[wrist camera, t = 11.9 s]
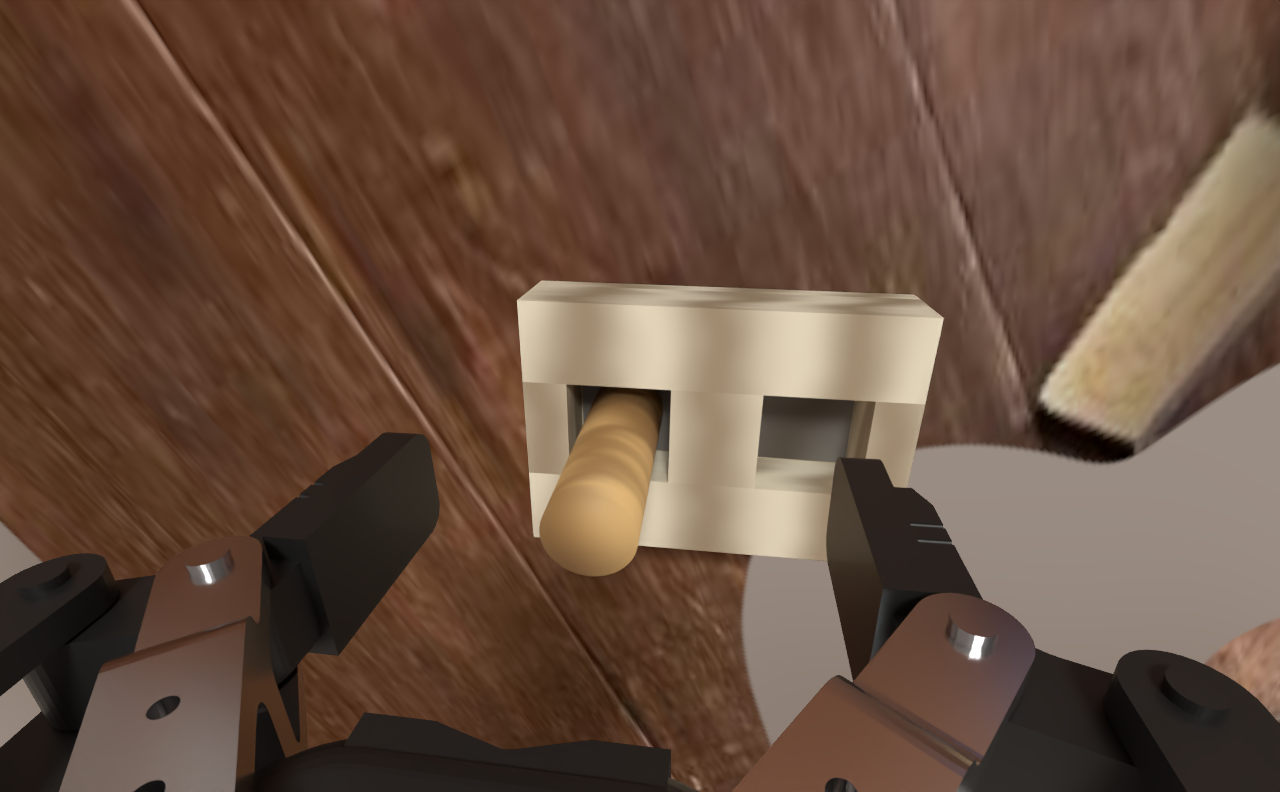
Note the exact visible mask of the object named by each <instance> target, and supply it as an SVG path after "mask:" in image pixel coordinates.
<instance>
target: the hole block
mask: <svg viewBox="0 0 1280 792" xmlns="http://www.w3.org/2000/svg"><path fill="white" fill-rule="evenodd" d="M517 307H518V321H519V335H520V350H521V364H522V378H523V392H524V406H525V421H526V435H527V449H528V463H529V478H530V492H531V506H532V520H533V534H534V537H540V534H539V526H540V521H541V518H542V516H543V513H544V511H545V509H546V507H547V504H548V502H549V500H550V498H551V496H552V493H553V491H554V489H555V487H556V484H557V482H558V480H559V478H560V475H561V473H562V471H563V469H564V466H565V464H566V462H567V460H568V458H569V455H570V453H571V451H572V449H573V446H574V444H575V442H576V440H577V437H578V435H579V433H580V431H581V428H582V426H583V424H584V422H585V420H586V417H587V415H588V413H589V411H590V408H591V406H592V404H593V402H594V399H595V397H596V395H597V393H598V391H599V389H600V388H601V387H602V386H605V387H623V388H641V389H656V390H657V391H658V393H659V395H660V397H661V399H662V402H663V416H662V421H661V426H660V432H659V437H658V442H657V448H656V453H655V458H654V463H653V469H652V474H651V479H650V485H649V490H648V495H647V500H646V506H645V511H644V516H643V522H642V527H641V532H640V537H639V543H638V546H650V547H662V548H674V549H686V550H698V551H710V552H722V553H734V554H746V555H759V556H770V557H782V558H794V559H807V560H819V561H827V552H826V533H827V523H828V515H829V507H830V499H831V492H832V484H833V476H834V468H835V463H836V460H837V458H838V457H846V458H865V459H880V460H881V461H882V462H883V464H884V466H885V469H886V471H887V473H888V475H889V478H890V480H891V482H892V484H893V486H894V487H901V488H907V486H908V481H909V477H910V472H911V468H912V463H913V458H914V454H915V449H916V444H917V440H918V435H919V430H920V426H921V421H922V417H923V412H924V407H925V403H926V398H927V393H928V389H929V384H930V380H931V375H932V370H933V366H934V361H935V356H936V352H937V347H938V343H939V338H940V333H941V329H942V324H943V319H944V318H943V317H942V316H940V315H939V314H938V313H937V312H935V311H934V310H933V309H932V308H930V307H929V306H928V305H927V304H925V303H924V302H923V301H922V300H920V299H919V298H918V297H917V296H915V295H907V294H881V293H855V292H828V291H802V290H775V289H749V288H723V287H696V286H670V285H643V284H617V283H591V282H564V281H541V282H539V283H538V284H537V285H536V286H534V287H533V288H532V289H531V290H529V291H528V292H527V293H526V294H524V295H523V296H522V297H521V298H519V299H518V300H517Z"/></svg>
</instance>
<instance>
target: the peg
mask: <svg viewBox="0 0 1280 792" xmlns="http://www.w3.org/2000/svg"><path fill="white" fill-rule="evenodd" d="M662 416H663V402H662V399H661V397H660V395H659V393H658V391H657V390H656V389H641V388H623V387H605V386H602V387H601V388H600V389H599V391H598V393H597V395H596V397H595V399H594V402H593V404H592V406H591V408H590V411H589V413H588V415H587V417H586V420H585V422H584V424H583V426H582V428H581V431H580V433H579V435H578V437H577V440H576V442H575V444H574V446H573V449H572V451H571V453H570V455H569V458H568V460H567V462H566V464H565V466H564V469H563V471H562V473H561V475H560V478H559V480H558V482H557V484H556V487H555V489H554V491H553V493H552V496H551V498H550V500H549V502H548V504H547V507H546V509H545V511H544V513H543V516H542V518H541V521H540V526H539V534H540V539H541V543H542V545H543V547H544V549H545V550H546V552H547V553H548V555H549V556H550V557H551V558H552V559H553V560H554V561H555V562H556V563H557V564H559V565H560V566H562V567H563V568H565V569H567V570H569V571H571V572H574V573H576V574H580V575H585V576H605V575H609V574H613V573H615V572H617V571H619V570H621V569H623V568H624V567H625V566H627V565H628V564H629V563H630V561H631V560H632V559H633V557H634V556H635V553H636V551H637V548H638V543H639V537H640V532H641V527H642V522H643V516H644V511H645V506H646V500H647V495H648V490H649V485H650V479H651V474H652V469H653V463H654V458H655V453H656V448H657V442H658V437H659V432H660V426H661V421H662Z"/></svg>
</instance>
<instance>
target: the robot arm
mask: <svg viewBox="0 0 1280 792" xmlns="http://www.w3.org/2000/svg"><path fill="white" fill-rule="evenodd" d="M438 516H439V496H438V491H437V485H436V479H435V474H434V468H433V462H432V457H431V451H430V446H429V442H428V440H427V438H426V437H425V436H424V435H422V434H408V433H389V432H387V433H383V434H382V435H380V436H379V437H378V438H377V439H375V440H374V441H373V442H372V443H371V444H370V445H368V446H367V447H366V448H365V449H364V450H363V451H361V452H360V453H359V454H358V455H356V456H354V457H352V458H350V459H348V460H346V461H344V462H342V463H340V464H338V465H336V466H334V467H332V468H331V469H330V470H328V471H327V472H326V473H325V474H324V475H322V476H321V477H320V478H319V479H318V480H316V481H315V484H314V485H310V486H309V487H308V488H307V489H306V490H304V491H303V492H302V493H301V494H300V497H299V498H295V499H294V500H292V501H291V502H290V503H289V504H288V505H286V506H285V507H284V508H283V509H281V510H280V511H279V512H278V513H277V514H275V515H274V516H273V517H272V518H271V519H269V520H268V521H267V522H266V523H265V524H263V525H262V526H261V527H260V528H259V529H257V530H256V531H255V532H254V533H253V534H251V535H250V536H227V537H221V538H217V539H213V540H209V541H206V542H203V543H200V544H198V545H195V546H193V547H191V548H189V549H187V550H185V551H183V552H181V553H179V554H178V555H176V556H175V557H173V558H172V559H170V560H169V561H168V562H167V563H165V564H164V565H163V566H162V567H161V568H160V570H159V571H158V572H157V574H156V575H153V576H146V577H138V578H131V579H123V580H116V581H115V579H114V577H113V575H112V573H111V570H110V568H109V566H108V564H107V562H106V560H105V558H103V557H102V556H100V555H97V554H74V555H68V556H63V557H59V558H55V559H52V560H49V561H46V562H43V563H40V564H37V565H35V566H32V567H30V568H28V569H25V570H23V571H21V572H19V573H17V574H15V575H13V576H12V577H10V578H8V579H7V580H5V581H3V582H2V583H0V696H1V695H2V694H4V693H5V692H6V691H7V690H8V689H10V688H11V687H12V686H13V685H15V684H16V683H17V682H18V681H20V680H21V679H22V678H23V680H24V681H25V683H26V685H27V687H28V688H29V690H30V691H31V693H32V695H33V697H34V699H35V701H36V702H37V704H38V705H39V707H40V709H41V712H40V713H39V714H38V715H37V716H36V717H35V718H34V719H32V720H31V721H30V722H29V723H28V724H27V725H26V726H25V727H23V728H22V729H21V730H20V731H19V732H18V733H17V734H15V735H14V736H13V737H12V738H11V739H10V740H9V741H7V742H6V743H5V744H4V745H3V746H2V747H1V748H0V792H698V791H696V790H694V789H693V788H691V787H689V786H687V785H686V784H683V783H681V782H679V781H676V780H674V779H672V778H671V750H669V749H661V748H652V747H644V746H636V745H628V744H620V743H611V742H603V741H595V740H588V741H580V742H571V743H563V744H555V745H547V746H538V747H530V748H522V749H513V750H507V749H501V748H498V747H495V746H493V745H491V744H488V743H486V742H484V741H481V740H479V739H477V738H474V737H472V736H470V735H467V734H465V733H463V732H460V731H458V730H456V729H453V728H451V727H448V726H446V725H444V724H441V723H439V722H437V721H431V720H423V719H415V718H406V717H398V716H390V715H382V714H373V713H364V714H363V716H362V717H361V719H360V721H359V722H358V724H357V725H356V727H355V728H354V730H353V732H352V733H351V735H350V736H349V738H348V739H347V740H340V741H336V742H331V743H327V744H323V745H319V746H316V747H313V748H310V749H308V741H307V721H306V702H305V683H304V674H303V670H302V667H301V664H300V661H301V660H302V659H303V658H304V657H305V655H306V654H307V653H308V652H310V653H319V654H329V655H338V656H339V654H340V653H341V652H342V650H343V649H344V648H345V646H346V645H347V644H348V642H349V641H350V640H351V638H352V637H353V636H354V635H355V633H356V632H357V631H358V629H359V628H360V627H361V625H362V624H363V623H364V621H365V620H366V619H367V617H368V616H369V615H370V613H371V612H372V611H373V609H374V608H375V607H376V606H377V604H378V603H379V602H380V600H381V599H382V598H383V596H384V595H385V594H386V592H387V591H388V590H389V588H390V587H391V586H392V584H393V583H394V582H395V580H396V579H397V578H398V577H399V575H400V574H401V573H402V571H403V570H404V569H405V567H406V566H407V565H408V563H409V562H410V561H411V559H412V558H413V557H414V555H415V554H416V553H417V551H418V550H419V549H420V548H421V546H422V545H423V544H424V542H425V541H426V540H427V538H428V537H429V536H430V534H431V533H432V532H433V530H434V528H435V526H436V523H437V520H438ZM951 542H952V540H951V539H950V537H949V535H948V533H947V531H946V529H944V528H943V524H942V522H941V520H940V518H939V516H938V514H937V512H936V510H935V508H934V507H933V505H932V504H931V503H929V502H928V501H927V500H926V499H924V498H923V497H922V496H921V495H919V494H918V493H917V492H916V491H915V490H913V489H912V488H901V487H894V486H893V484H892V482H891V480H890V478H889V475H888V473H887V471H886V469H885V466H884V464H883V462H882V461H881V460H880V459H865V458H846V457H838V458H837V460H836V463H835V468H834V476H833V484H832V492H831V499H830V507H829V515H828V523H827V533H826V552H827V561H828V566H829V571H830V576H831V580H832V585H833V590H834V594H835V599H836V603H837V607H838V612H839V617H840V622H841V627H842V631H843V635H844V641H845V645H846V650H847V655H848V658H849V664H850V668H851V673H852V678H853V682H850V681H849V680H847V679H846V678H844V677H842V676H840V675H837V676H835V677H833V678H831V679H830V680H829V681H828V682H827V683H826V684H825V685H824V686H823V687H822V688H821V689H820V691H819V692H818V693H817V694H816V695H815V696H814V698H813V699H812V700H811V701H810V702H809V703H808V704H807V706H806V707H805V708H804V709H803V710H802V711H801V712H800V714H799V715H798V716H797V717H796V718H795V719H794V721H793V722H792V723H791V724H790V725H789V726H788V728H787V729H786V730H785V731H784V732H783V733H782V734H781V735H780V737H779V738H778V739H777V740H776V741H775V743H773V745H772V746H771V747H770V748H769V749H768V750H767V752H766V753H765V754H764V755H763V756H762V757H761V758H760V760H759V761H758V762H757V763H756V764H755V765H754V767H753V768H752V769H751V770H750V771H749V772H748V773H747V775H746V776H745V777H744V778H743V779H742V780H741V781H740V783H739V784H738V785H737V786H736V787H735V788H734V790H733V791H732V792H1280V724H1279V723H1278V722H1277V720H1276V719H1275V718H1274V717H1273V716H1272V715H1271V713H1270V712H1269V711H1268V710H1267V709H1266V708H1265V707H1264V706H1263V704H1262V703H1261V702H1260V701H1259V700H1258V699H1257V698H1256V697H1254V696H1253V695H1252V694H1251V693H1250V692H1249V691H1247V690H1246V689H1245V688H1243V687H1242V686H1241V685H1239V684H1238V683H1236V682H1235V681H1233V680H1232V679H1230V678H1229V677H1227V676H1225V675H1224V674H1222V673H1220V672H1218V671H1216V670H1214V669H1213V668H1211V667H1209V666H1206V665H1204V664H1202V663H1200V662H1197V661H1195V660H1192V659H1189V658H1187V657H1184V656H1180V655H1176V654H1173V653H1169V652H1163V651H1157V650H1137V651H1133V652H1129V653H1128V654H1126V655H1124V656H1123V657H1122V658H1121V659H1120V660H1119V662H1118V664H1117V666H1116V669H1115V672H1114V674H1111V673H1108V672H1104V671H1101V670H1097V669H1094V668H1091V667H1088V666H1085V665H1081V664H1078V663H1075V662H1072V661H1069V660H1065V659H1062V658H1059V657H1056V656H1053V655H1050V654H1048V653H1045V652H1043V651H1041V650H1039V649H1036V648H1035V645H1034V642H1033V640H1032V638H1031V636H1030V634H1029V633H1028V631H1027V630H1026V629H1025V628H1024V626H1023V625H1022V624H1021V623H1020V622H1018V620H1017V619H1015V618H1014V617H1013V616H1012V615H1010V614H1009V613H1007V612H1006V611H1004V610H1003V609H1001V608H999V607H998V606H996V605H994V604H992V603H989V602H987V601H985V600H983V599H982V597H981V595H980V593H979V591H978V590H977V588H976V586H975V584H974V582H973V580H972V578H971V576H970V574H969V572H968V571H967V569H966V567H965V565H964V563H963V561H962V560H961V558H960V556H959V554H958V552H957V550H956V548H955V546H954V545H952V543H951Z"/></svg>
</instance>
